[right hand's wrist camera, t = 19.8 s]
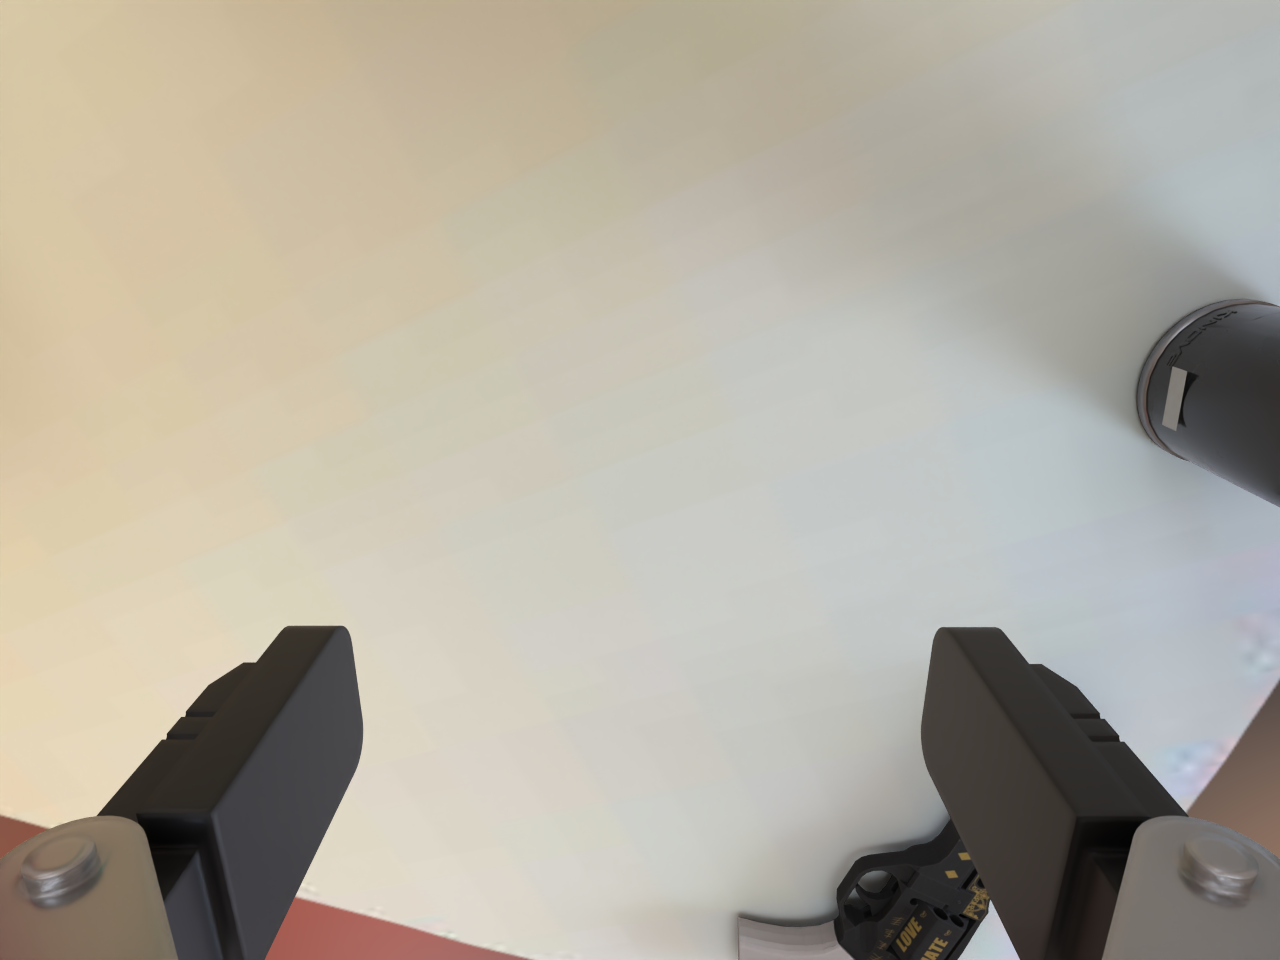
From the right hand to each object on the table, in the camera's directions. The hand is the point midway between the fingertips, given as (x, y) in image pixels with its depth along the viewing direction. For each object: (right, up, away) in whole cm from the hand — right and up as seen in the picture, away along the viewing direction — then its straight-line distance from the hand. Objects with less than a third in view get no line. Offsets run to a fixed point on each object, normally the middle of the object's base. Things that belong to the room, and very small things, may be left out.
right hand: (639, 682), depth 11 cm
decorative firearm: (+18, -23, +47) cm, 56 cm away
